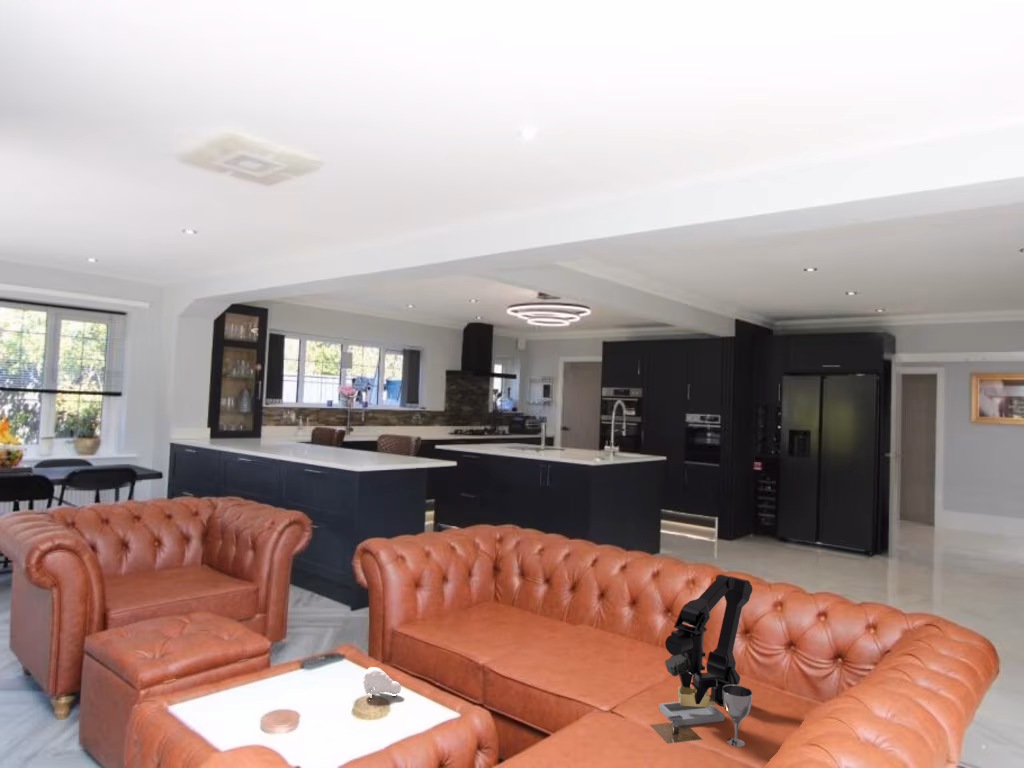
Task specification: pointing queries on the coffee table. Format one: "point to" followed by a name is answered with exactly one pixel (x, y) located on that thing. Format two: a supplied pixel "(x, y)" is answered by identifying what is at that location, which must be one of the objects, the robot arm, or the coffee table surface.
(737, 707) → the wine glass
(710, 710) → the tray
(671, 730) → the brown peg base plate
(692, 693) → the gold hollow rectangular block
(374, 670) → the grey lumpy shape
